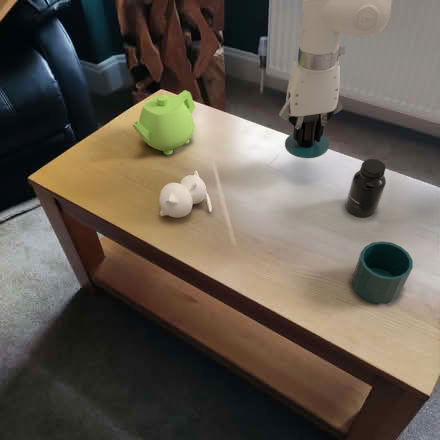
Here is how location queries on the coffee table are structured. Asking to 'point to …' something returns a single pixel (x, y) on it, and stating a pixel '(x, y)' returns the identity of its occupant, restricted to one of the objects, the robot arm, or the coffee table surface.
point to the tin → (381, 272)
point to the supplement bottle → (366, 189)
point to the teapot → (166, 121)
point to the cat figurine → (183, 196)
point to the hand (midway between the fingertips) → (307, 139)
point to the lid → (307, 140)
